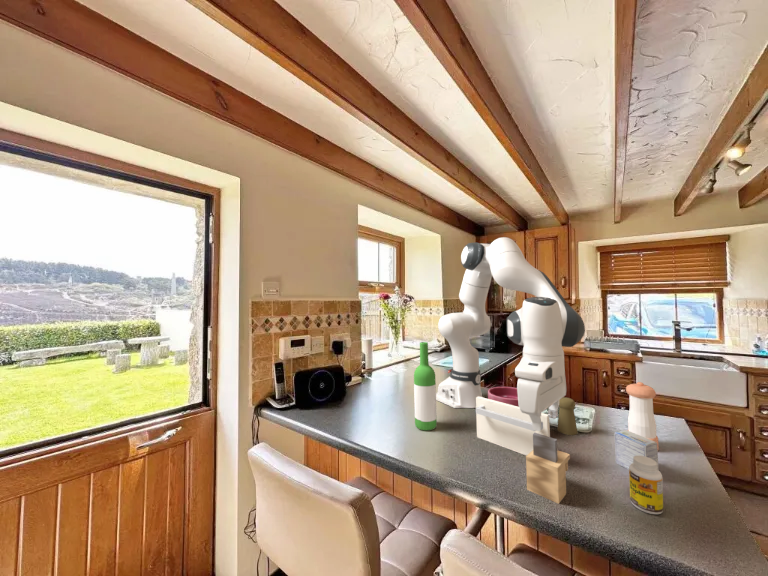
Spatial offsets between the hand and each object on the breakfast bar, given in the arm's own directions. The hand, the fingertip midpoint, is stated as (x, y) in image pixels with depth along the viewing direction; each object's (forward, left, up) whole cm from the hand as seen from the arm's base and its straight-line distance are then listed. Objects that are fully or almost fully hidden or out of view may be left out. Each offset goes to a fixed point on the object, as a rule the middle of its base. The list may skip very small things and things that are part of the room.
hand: (545, 423), depth 73 cm
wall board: (-15, +13, -16) cm, 26 cm away
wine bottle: (-43, +7, -16) cm, 47 cm away
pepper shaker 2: (+12, +43, -16) cm, 47 cm away
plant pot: (-21, +26, -16) cm, 37 cm away
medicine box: (+13, +26, -17) cm, 33 cm away
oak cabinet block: (0, +2, -16) cm, 16 cm away
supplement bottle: (+17, +10, -16) cm, 25 cm away
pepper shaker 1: (-7, +38, -16) cm, 42 cm away
